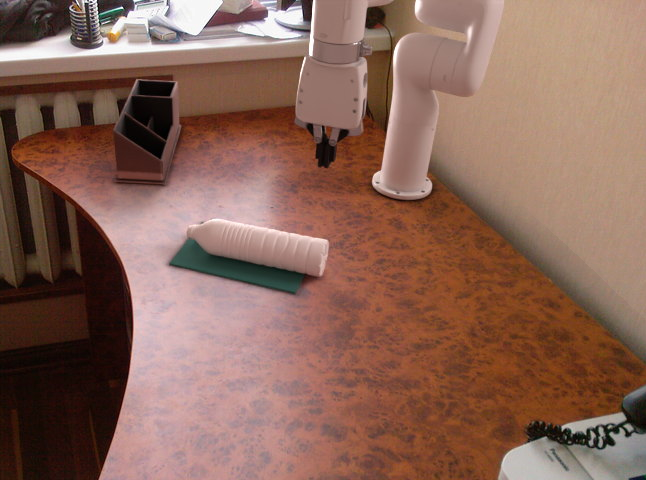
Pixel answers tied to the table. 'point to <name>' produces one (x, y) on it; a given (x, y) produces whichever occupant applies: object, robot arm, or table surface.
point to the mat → (236, 268)
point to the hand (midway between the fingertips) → (324, 163)
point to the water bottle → (262, 246)
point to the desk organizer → (147, 132)
